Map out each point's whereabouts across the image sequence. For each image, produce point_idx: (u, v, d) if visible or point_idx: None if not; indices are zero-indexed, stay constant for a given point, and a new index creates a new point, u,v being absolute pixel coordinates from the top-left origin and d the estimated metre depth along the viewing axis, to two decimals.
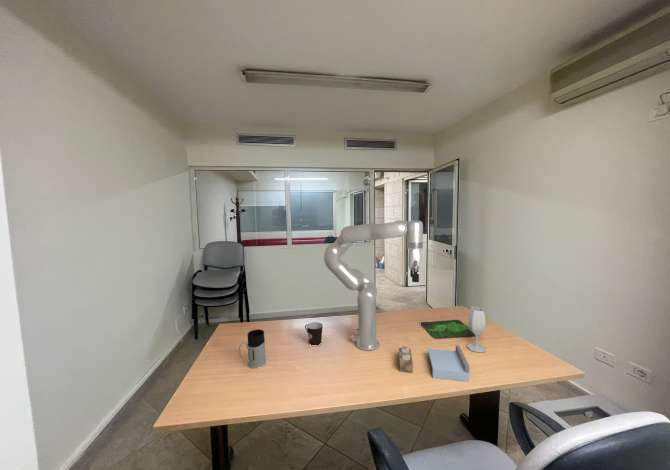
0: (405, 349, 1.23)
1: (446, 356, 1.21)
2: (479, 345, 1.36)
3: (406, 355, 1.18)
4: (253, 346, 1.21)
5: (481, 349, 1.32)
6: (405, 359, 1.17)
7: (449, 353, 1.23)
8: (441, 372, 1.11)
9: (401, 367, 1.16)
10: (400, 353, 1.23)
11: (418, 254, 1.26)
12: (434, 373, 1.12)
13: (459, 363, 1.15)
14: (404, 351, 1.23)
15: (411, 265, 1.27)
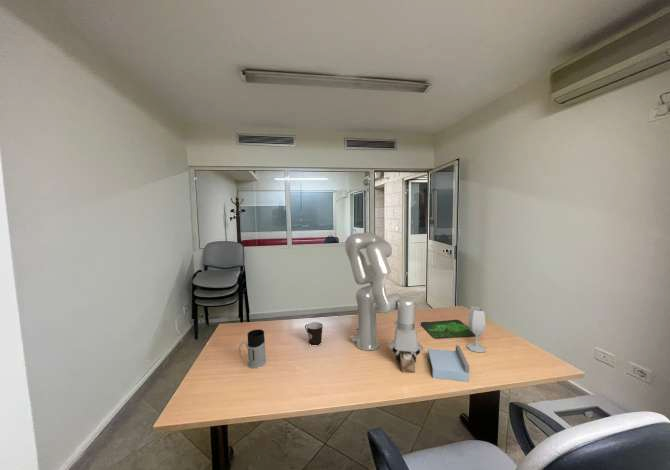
0: None
1: (446, 356, 1.21)
2: (479, 345, 1.36)
3: (407, 355, 1.18)
4: (253, 346, 1.21)
5: (481, 349, 1.32)
6: (407, 359, 1.17)
7: (449, 353, 1.23)
8: (441, 372, 1.11)
9: (403, 367, 1.16)
10: (400, 353, 1.22)
11: None
12: (434, 373, 1.12)
13: (459, 363, 1.15)
14: (404, 351, 1.23)
15: (417, 347, 1.18)
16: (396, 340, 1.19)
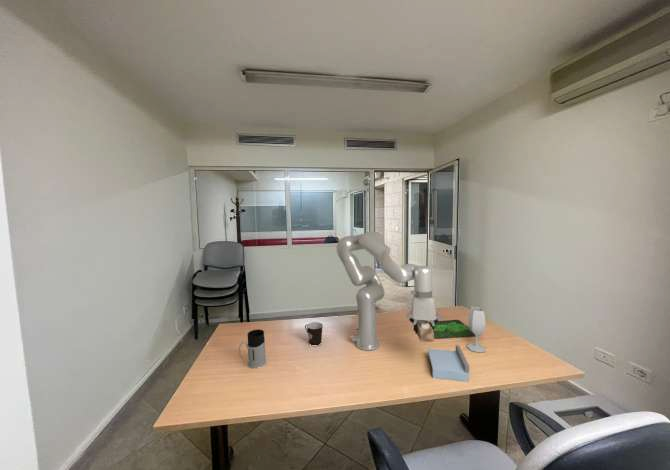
0: None
1: (446, 356, 1.21)
2: (479, 345, 1.36)
3: (425, 324, 1.15)
4: (253, 346, 1.21)
5: (481, 349, 1.32)
6: (425, 328, 1.14)
7: (449, 353, 1.23)
8: (441, 372, 1.11)
9: (422, 336, 1.13)
10: (418, 323, 1.19)
11: None
12: (434, 373, 1.12)
13: (459, 363, 1.15)
14: (421, 321, 1.20)
15: (435, 315, 1.15)
16: (413, 309, 1.16)
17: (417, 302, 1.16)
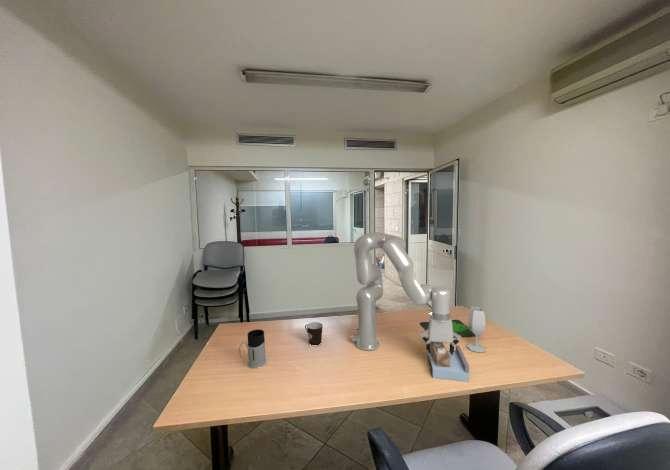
0: (438, 343, 1.20)
1: None
2: (479, 345, 1.36)
3: (442, 349, 1.15)
4: (253, 346, 1.21)
5: (481, 349, 1.32)
6: (441, 353, 1.14)
7: (449, 353, 1.23)
8: (441, 372, 1.11)
9: (438, 361, 1.13)
10: (433, 347, 1.20)
11: None
12: (434, 373, 1.12)
13: (459, 363, 1.15)
14: (437, 345, 1.20)
15: None
16: (431, 331, 1.16)
17: (435, 324, 1.15)
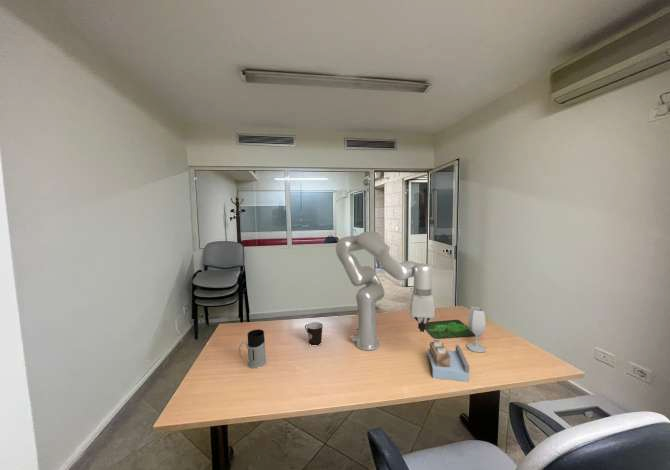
0: (438, 343, 1.20)
1: None
2: (479, 345, 1.36)
3: (442, 349, 1.15)
4: (253, 346, 1.21)
5: (481, 349, 1.32)
6: (441, 353, 1.14)
7: (449, 353, 1.23)
8: (441, 372, 1.11)
9: (438, 361, 1.13)
10: (433, 347, 1.20)
11: None
12: (434, 373, 1.12)
13: (459, 363, 1.15)
14: (437, 345, 1.20)
15: (434, 313, 1.16)
16: (412, 306, 1.17)
17: (416, 299, 1.16)
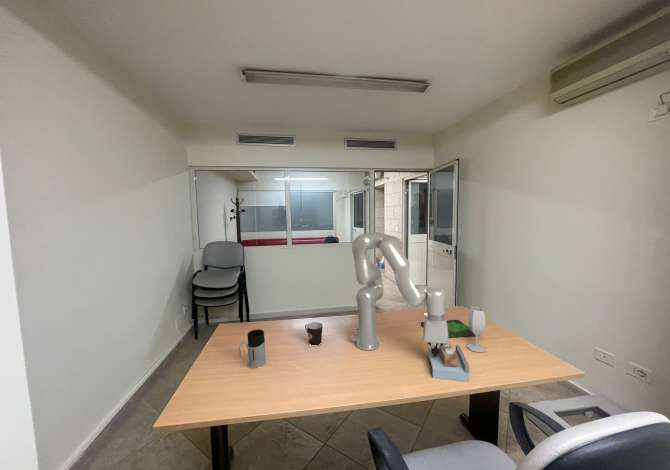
0: None
1: None
2: (479, 345, 1.36)
3: (450, 349, 1.15)
4: (253, 346, 1.21)
5: (481, 349, 1.32)
6: (449, 353, 1.14)
7: None
8: (441, 372, 1.11)
9: (446, 361, 1.13)
10: (441, 347, 1.19)
11: None
12: (434, 373, 1.12)
13: (459, 363, 1.15)
14: (445, 345, 1.19)
15: None
16: (426, 331, 1.16)
17: (430, 325, 1.16)
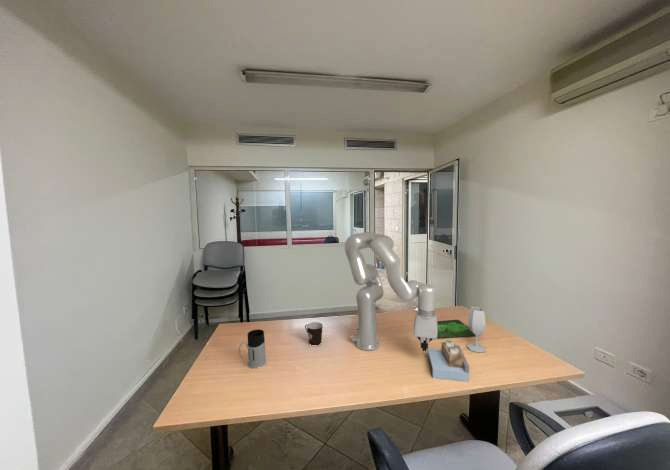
0: (450, 343, 1.20)
1: None
2: (479, 345, 1.36)
3: (454, 349, 1.15)
4: (253, 346, 1.21)
5: (481, 349, 1.32)
6: (454, 353, 1.13)
7: None
8: (441, 372, 1.11)
9: (451, 362, 1.12)
10: (446, 347, 1.19)
11: None
12: (434, 373, 1.12)
13: None
14: (449, 345, 1.19)
15: None
16: (416, 326, 1.19)
17: (420, 320, 1.18)
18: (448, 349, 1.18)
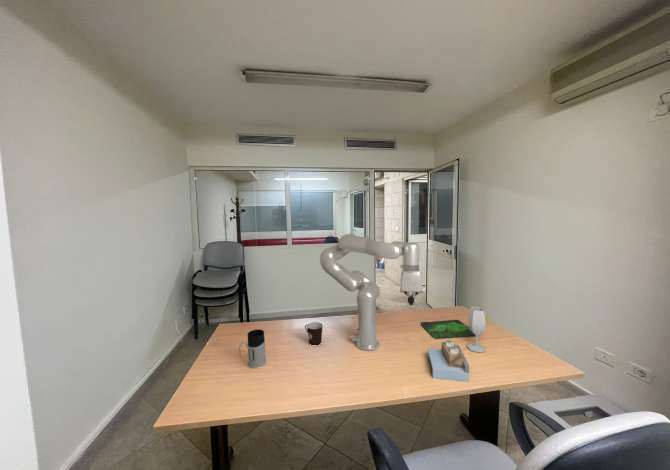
0: (450, 343, 1.20)
1: None
2: (479, 345, 1.36)
3: (454, 349, 1.15)
4: (253, 346, 1.21)
5: (481, 349, 1.32)
6: (454, 353, 1.13)
7: None
8: (441, 372, 1.11)
9: (451, 362, 1.12)
10: (446, 347, 1.19)
11: None
12: (434, 373, 1.12)
13: None
14: (449, 345, 1.19)
15: None
16: (402, 281, 1.27)
17: (405, 275, 1.26)
18: (448, 349, 1.18)
